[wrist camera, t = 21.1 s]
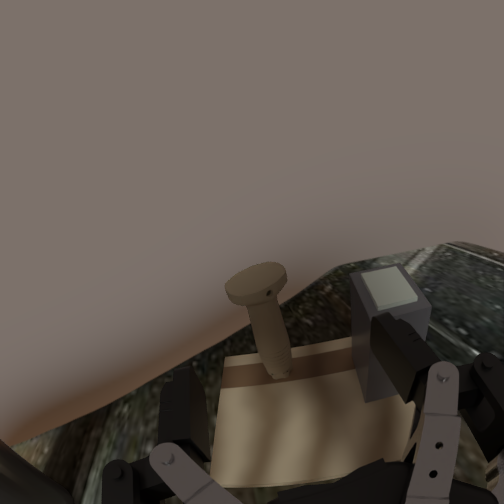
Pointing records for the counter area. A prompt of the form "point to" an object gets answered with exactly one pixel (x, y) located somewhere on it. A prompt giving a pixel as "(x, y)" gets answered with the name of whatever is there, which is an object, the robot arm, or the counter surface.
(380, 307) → the grey tall block
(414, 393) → the robot arm
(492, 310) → the counter surface
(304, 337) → the counter surface
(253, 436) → the subfloor panel
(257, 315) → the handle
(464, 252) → the counter surface
